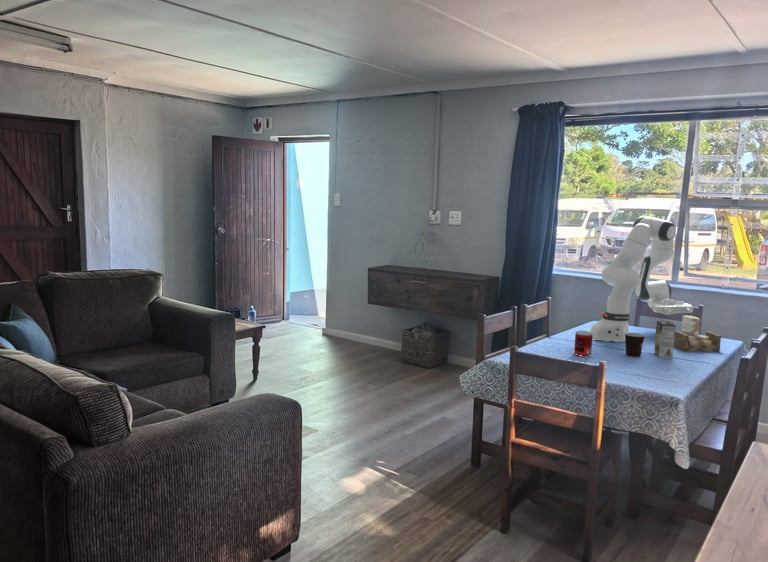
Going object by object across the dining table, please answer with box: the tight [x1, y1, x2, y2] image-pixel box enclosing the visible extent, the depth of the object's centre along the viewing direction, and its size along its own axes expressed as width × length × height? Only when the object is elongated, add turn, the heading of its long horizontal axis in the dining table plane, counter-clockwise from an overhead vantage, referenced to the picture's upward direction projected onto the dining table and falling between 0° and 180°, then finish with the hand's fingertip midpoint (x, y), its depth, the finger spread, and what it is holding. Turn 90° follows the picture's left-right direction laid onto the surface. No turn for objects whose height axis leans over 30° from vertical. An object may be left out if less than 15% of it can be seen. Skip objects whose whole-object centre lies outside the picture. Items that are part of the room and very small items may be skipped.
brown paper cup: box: [624, 332, 645, 358], centre depth 274 cm, size 12×9×10 cm
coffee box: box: [654, 320, 676, 359], centre depth 273 cm, size 9×6×16 cm
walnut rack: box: [674, 330, 722, 352], centre depth 288 cm, size 18×10×8 cm, turn 90°
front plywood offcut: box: [688, 340, 712, 345], centre depth 286 cm, size 11×2×5 cm, turn 90°
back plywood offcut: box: [688, 335, 709, 340], centre depth 289 cm, size 11×2×6 cm, turn 90°
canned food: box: [573, 330, 593, 356], centre depth 272 cm, size 8×8×11 cm
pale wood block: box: [680, 315, 701, 336], centre depth 295 cm, size 4×8×15 cm, turn 0°
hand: (679, 311), depth 306 cm, fingers open, 8 cm apart
